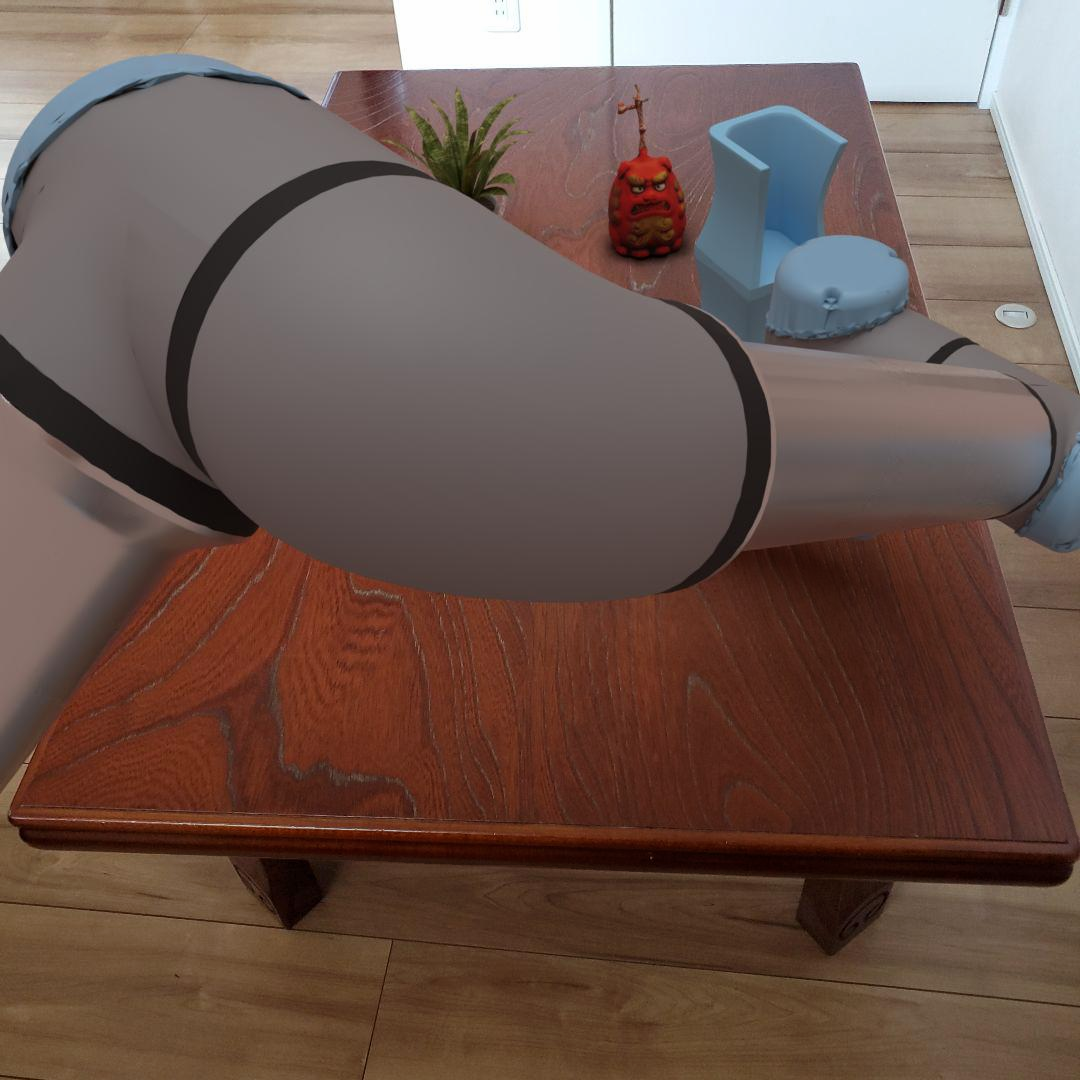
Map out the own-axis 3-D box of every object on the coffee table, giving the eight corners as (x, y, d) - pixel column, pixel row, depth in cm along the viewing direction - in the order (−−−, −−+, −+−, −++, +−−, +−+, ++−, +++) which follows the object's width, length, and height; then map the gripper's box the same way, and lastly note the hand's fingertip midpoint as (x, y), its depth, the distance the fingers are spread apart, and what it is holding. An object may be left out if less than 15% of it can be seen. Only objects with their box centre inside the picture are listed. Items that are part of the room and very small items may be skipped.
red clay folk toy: (617, 267, 109) (615, 119, 98) (600, 231, 113) (597, 85, 103) (692, 255, 109) (699, 106, 98) (673, 219, 114) (677, 73, 103)
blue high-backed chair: (740, 390, 94) (760, 170, 80) (690, 343, 99) (700, 127, 85) (817, 360, 97) (849, 141, 82) (763, 315, 102) (785, 101, 87)
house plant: (570, 233, 113) (564, 73, 102) (528, 310, 104) (516, 144, 93) (440, 217, 117) (419, 61, 105) (388, 290, 108) (359, 128, 96)
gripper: (593, 584, 73) (330, 487, 80) (738, 368, 87) (503, 304, 95) (590, 500, 67) (308, 406, 75) (745, 286, 82) (496, 225, 90)
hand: (417, 349), depth 85 cm, fingers open, 13 cm apart
